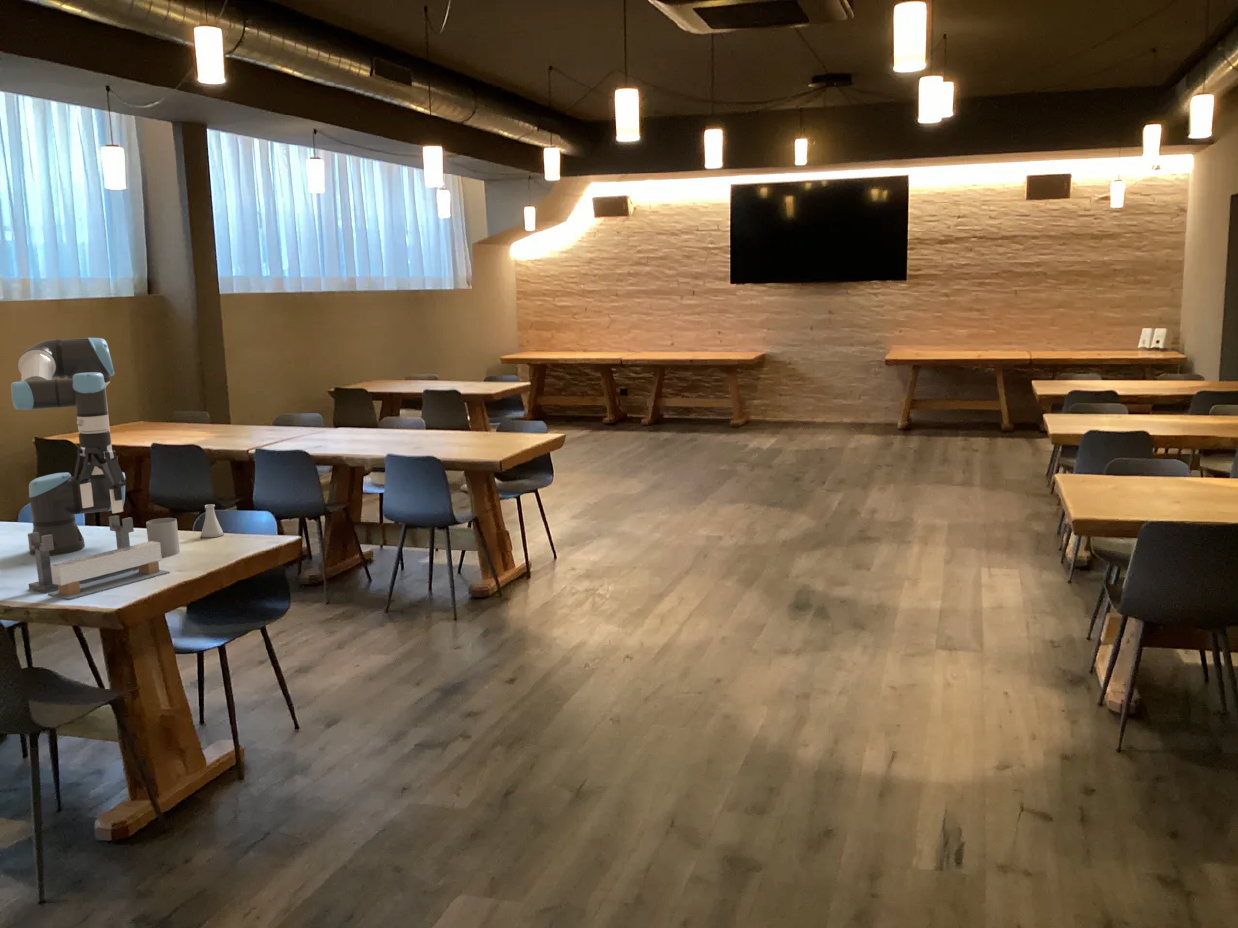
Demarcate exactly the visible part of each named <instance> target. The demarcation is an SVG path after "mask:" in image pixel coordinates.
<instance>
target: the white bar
mask: <svg viewBox="0 0 1238 928" xmlns="http://www.w3.org/2000/svg"><path fill="white" fill-rule="evenodd" d="M162 558H163V557H162V556H161V546H160V542H154V541H150V542H148V541H146V542H142V543H138V544H133V545H130V546H128V547H124V548H120V549H117V548H116V549H111V550H107V551H104V552H99V553H96V554H91V555H87V556H82V557H79V558H75V559H70V560H66V561H61V562H57V563H53V564H51V574H52V582H53V584H56V585H61V586H62V585H66V584H70V583H74V582H77V581H81V580H85V579H89V578H93V577H97V576H101V575H105V574H109V573H113V572H117V571H120V570H124V569H128V568H132V567H136V566H140V565H144V564H148V563H152V562H156V561H158V562H159V561H162Z"/></svg>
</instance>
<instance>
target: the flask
mask: <svg viewBox="0 0 1238 928" xmlns="http://www.w3.org/2000/svg"><path fill="white" fill-rule="evenodd" d="M215 507H216V505H215V504H212V503H211V504H205V505H204V508H205V517H204V518H205V519H204V522H203V525H202V529H201V534H200V538H209V537H210V538H216V537H221V536H223V535H224V532H223V529H222V527H221V525H220V522H219V520H218V519H217V516H216V512H215Z"/></svg>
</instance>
